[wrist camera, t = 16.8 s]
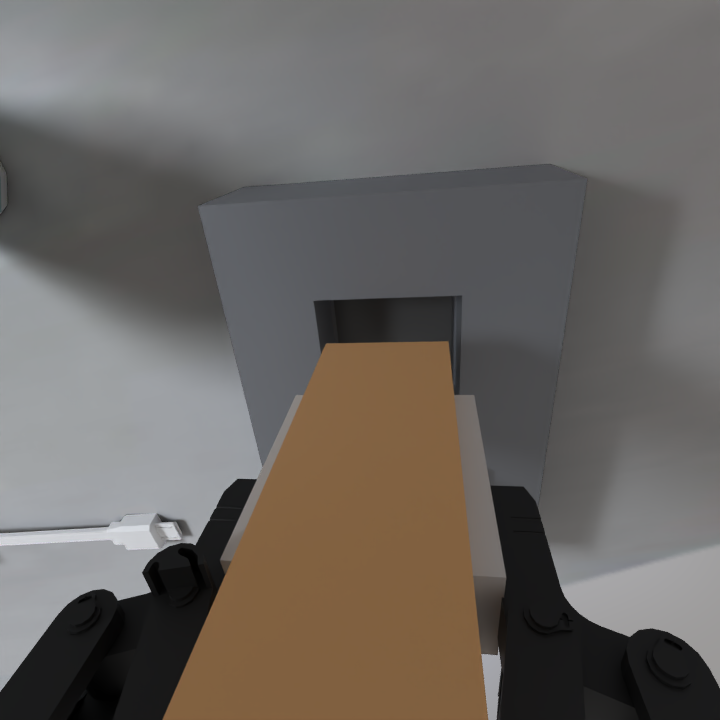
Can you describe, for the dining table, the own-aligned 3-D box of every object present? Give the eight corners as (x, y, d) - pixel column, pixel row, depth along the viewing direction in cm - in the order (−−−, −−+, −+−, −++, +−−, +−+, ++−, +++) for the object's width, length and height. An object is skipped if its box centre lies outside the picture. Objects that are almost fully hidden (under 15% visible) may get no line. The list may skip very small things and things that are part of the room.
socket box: (243, 187, 21) (197, 205, 17) (550, 164, 19) (587, 178, 15) (307, 512, 32) (289, 576, 27) (510, 520, 30) (525, 589, 25)
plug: (338, 438, 19) (177, 1042, 6) (325, 343, 17) (50, 977, 4) (447, 440, 18) (493, 1120, 6) (448, 341, 16) (526, 1086, 4)
